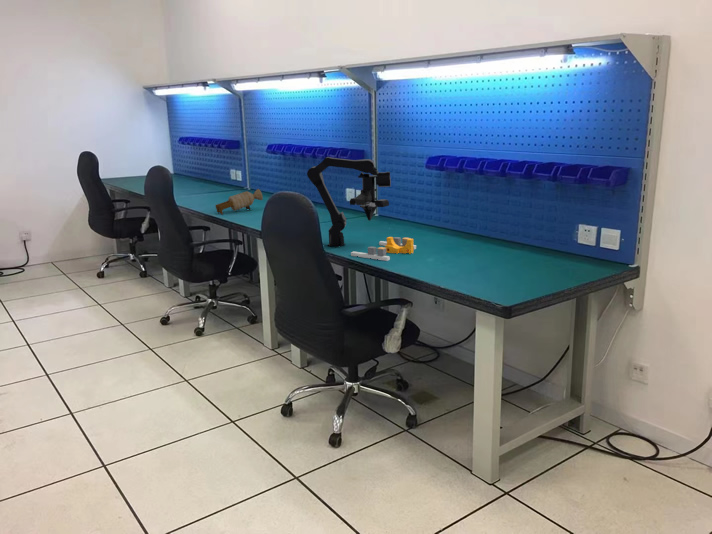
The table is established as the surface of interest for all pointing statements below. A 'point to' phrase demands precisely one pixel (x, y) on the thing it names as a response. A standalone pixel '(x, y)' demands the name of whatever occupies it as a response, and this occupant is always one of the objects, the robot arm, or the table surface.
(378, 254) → the collar track
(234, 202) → the brown toy figure
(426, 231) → the table surface
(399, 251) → the pipe clamp
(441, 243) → the table surface
